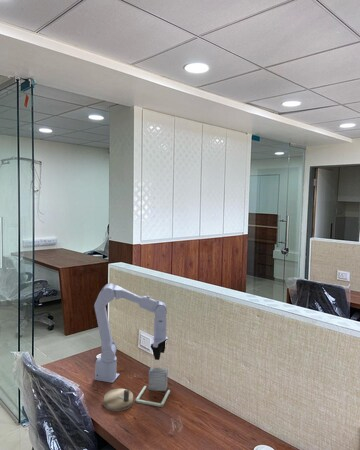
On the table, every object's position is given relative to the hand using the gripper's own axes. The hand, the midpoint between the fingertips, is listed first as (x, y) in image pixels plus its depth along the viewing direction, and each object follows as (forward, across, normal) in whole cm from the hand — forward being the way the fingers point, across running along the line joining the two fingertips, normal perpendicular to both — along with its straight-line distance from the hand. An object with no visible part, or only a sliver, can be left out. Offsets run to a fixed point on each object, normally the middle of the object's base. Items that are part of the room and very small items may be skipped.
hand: (159, 355), depth 169 cm
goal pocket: (+11, -16, -2) cm, 19 cm away
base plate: (+10, -24, +10) cm, 28 cm away
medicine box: (+11, -9, -2) cm, 15 cm away
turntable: (+10, -24, +10) cm, 28 cm away
